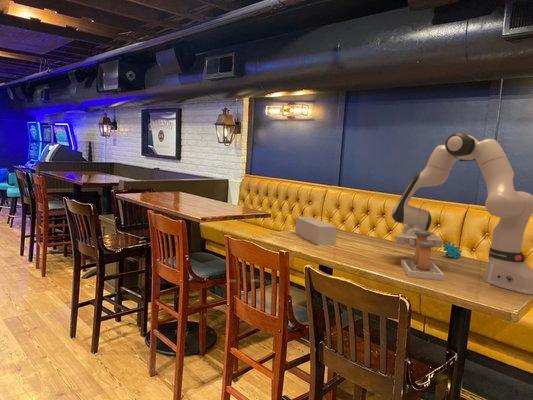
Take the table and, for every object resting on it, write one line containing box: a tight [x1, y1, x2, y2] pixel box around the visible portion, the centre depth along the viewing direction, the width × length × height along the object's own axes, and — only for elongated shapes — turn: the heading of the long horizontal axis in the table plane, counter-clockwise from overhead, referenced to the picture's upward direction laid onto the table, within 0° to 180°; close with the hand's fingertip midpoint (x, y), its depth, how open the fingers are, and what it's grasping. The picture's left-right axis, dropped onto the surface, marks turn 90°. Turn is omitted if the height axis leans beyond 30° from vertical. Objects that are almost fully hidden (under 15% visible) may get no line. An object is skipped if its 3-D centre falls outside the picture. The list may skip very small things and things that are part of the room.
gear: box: [442, 241, 463, 260], centre depth 213 cm, size 11×6×10 cm
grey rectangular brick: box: [294, 216, 338, 246], centre depth 238 cm, size 32×11×11 cm, turn 19°
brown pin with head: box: [413, 230, 432, 263], centre depth 179 cm, size 7×7×14 cm
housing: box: [400, 258, 445, 281], centre depth 177 cm, size 20×14×4 cm
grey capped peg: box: [418, 241, 435, 271], centre depth 172 cm, size 7×7×14 cm
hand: (421, 244), depth 178 cm, fingers closed on brown pin with head, 4 cm apart
